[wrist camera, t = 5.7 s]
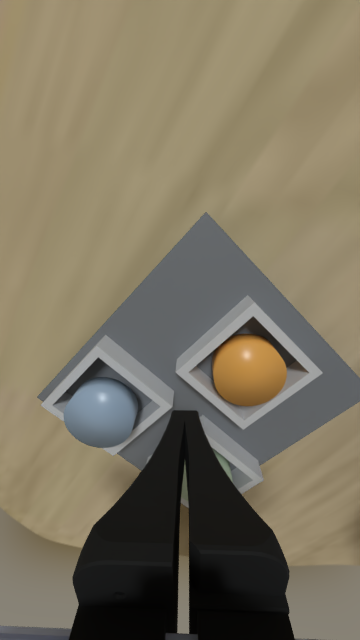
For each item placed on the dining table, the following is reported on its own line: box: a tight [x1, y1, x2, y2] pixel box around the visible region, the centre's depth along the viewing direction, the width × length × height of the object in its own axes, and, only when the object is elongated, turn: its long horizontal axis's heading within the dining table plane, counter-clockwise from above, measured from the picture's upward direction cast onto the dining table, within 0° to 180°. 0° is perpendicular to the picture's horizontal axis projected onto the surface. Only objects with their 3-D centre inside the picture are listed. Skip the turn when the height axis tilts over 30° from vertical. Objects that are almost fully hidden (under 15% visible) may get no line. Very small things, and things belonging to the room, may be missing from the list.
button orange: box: [212, 333, 287, 406], centre depth 16 cm, size 5×5×2 cm
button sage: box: [181, 447, 233, 501], centre depth 20 cm, size 5×5×2 cm
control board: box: [37, 212, 360, 508], centre depth 19 cm, size 18×19×3 cm
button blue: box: [64, 377, 138, 448], centre depth 17 cm, size 5×5×2 cm
